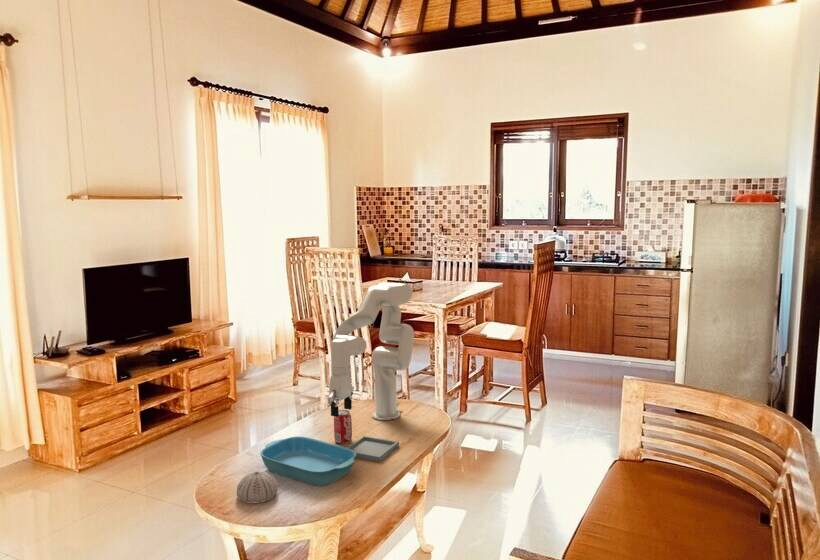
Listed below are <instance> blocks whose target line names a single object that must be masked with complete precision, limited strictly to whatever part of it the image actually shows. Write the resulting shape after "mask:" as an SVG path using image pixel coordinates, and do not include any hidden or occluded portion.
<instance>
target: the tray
mask: <svg viewBox="0 0 820 560" xmlns="http://www.w3.org/2000/svg"><path fill="white" fill-rule="evenodd" d="M399 447H400V441H396V440H391V439H386V438H381V437H374V436H368V435H362V436H361V437H359V438H358V439H356V440H355V441H353V442H352V443H350V444H349V445H348V446H345V448H349V449H351V450H353V451H355V452H356V458H355V459H360V460H366V461H372V462H376V463H380V462H382V461H383V460H384V459H385V458H387V457H389V456H390V455H391V454H392V453H393V452H394V451H395V450H396V449H398V448H399Z"/></svg>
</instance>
